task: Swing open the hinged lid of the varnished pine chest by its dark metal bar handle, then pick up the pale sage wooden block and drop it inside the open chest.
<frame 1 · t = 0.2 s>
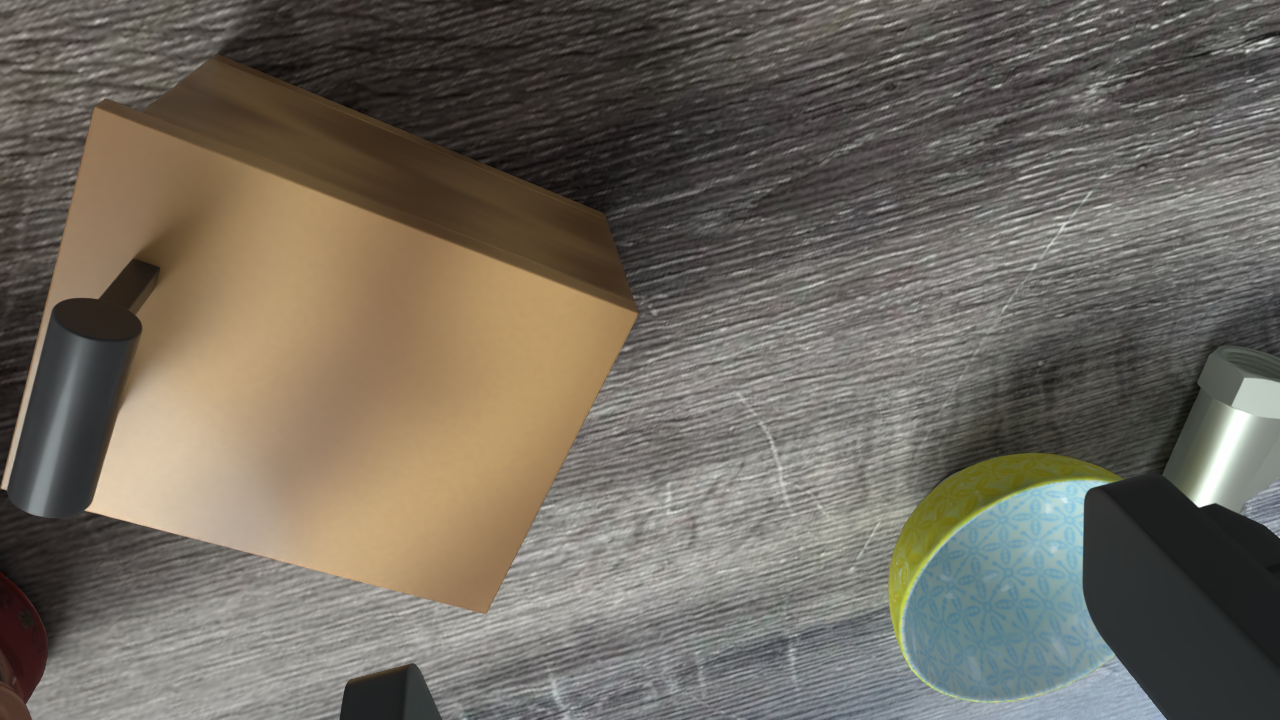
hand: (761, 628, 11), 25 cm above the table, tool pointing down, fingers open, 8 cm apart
pipe fitting: (1222, 422, 44), on the table
bowl: (967, 504, 44), on the table
chest: (366, 285, 35), on the table
lid: (311, 436, 26), point 11 cm above the table, hinge at 0.0°
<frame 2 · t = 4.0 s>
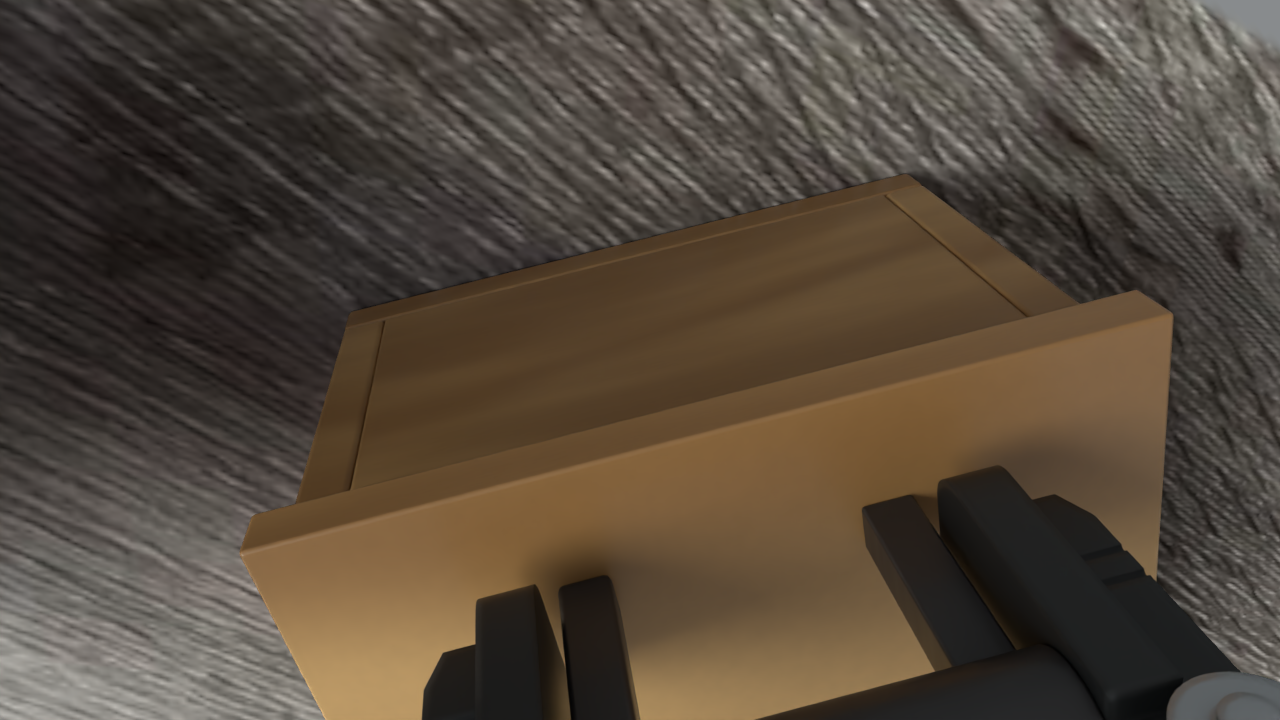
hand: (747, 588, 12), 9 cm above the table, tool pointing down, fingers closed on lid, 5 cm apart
chest: (690, 506, 23), on the table
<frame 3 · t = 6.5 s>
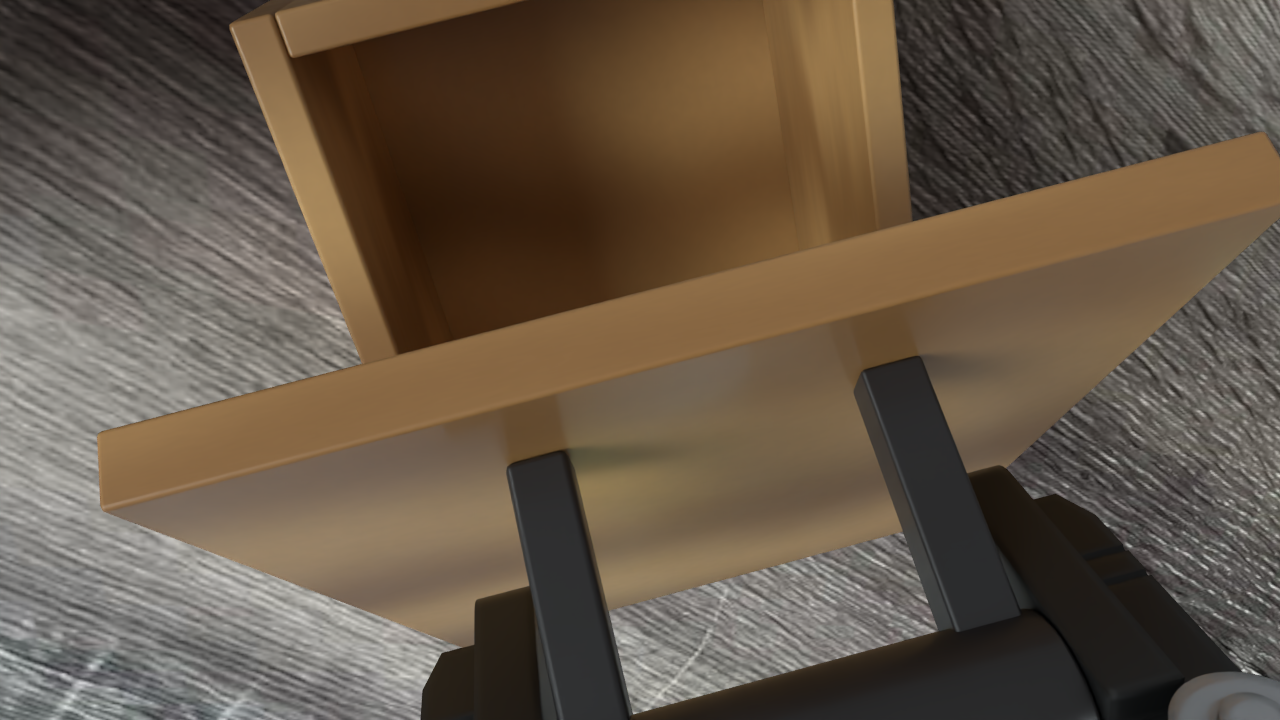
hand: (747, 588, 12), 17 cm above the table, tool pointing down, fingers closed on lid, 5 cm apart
chest: (600, 188, 27), on the table
lid: (745, 634, 15), point 15 cm above the table, hinge at 41.1°, touching gripper
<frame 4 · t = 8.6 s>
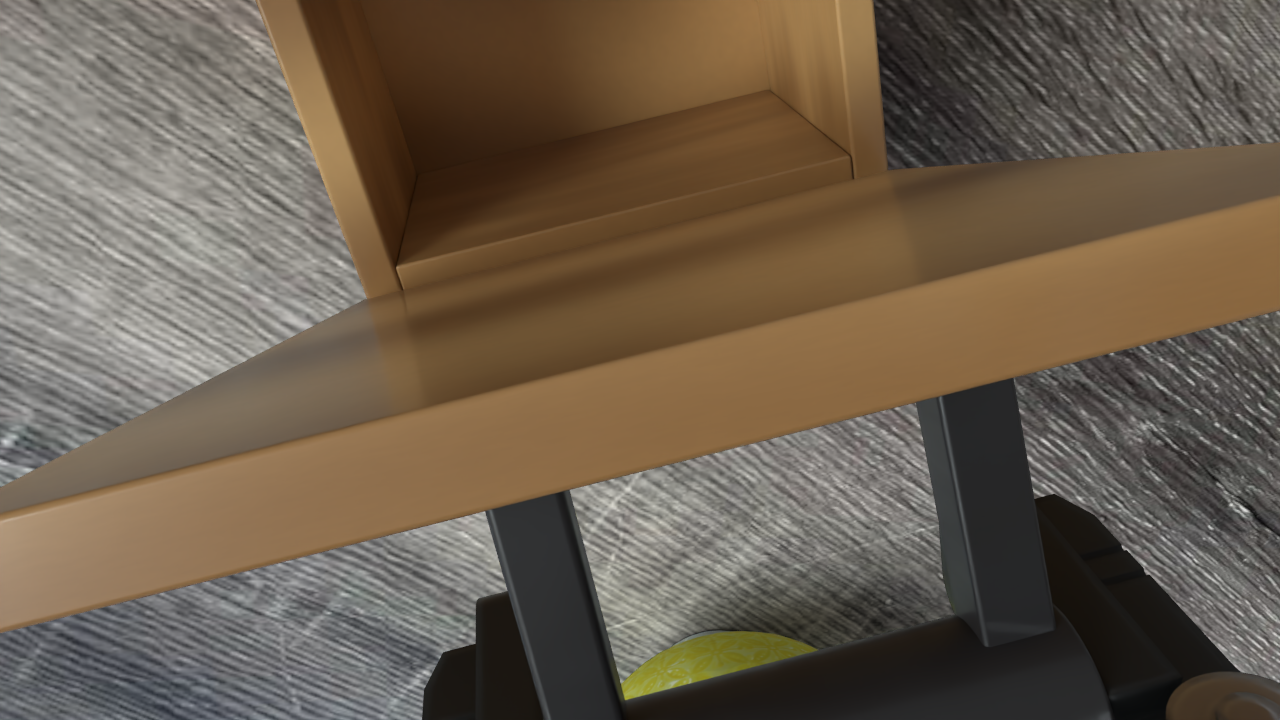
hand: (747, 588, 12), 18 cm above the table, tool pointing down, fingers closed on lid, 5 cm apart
bowl: (709, 670, 38), on the table
lid: (703, 438, 14), point 16 cm above the table, hinge at 72.5°, touching gripper
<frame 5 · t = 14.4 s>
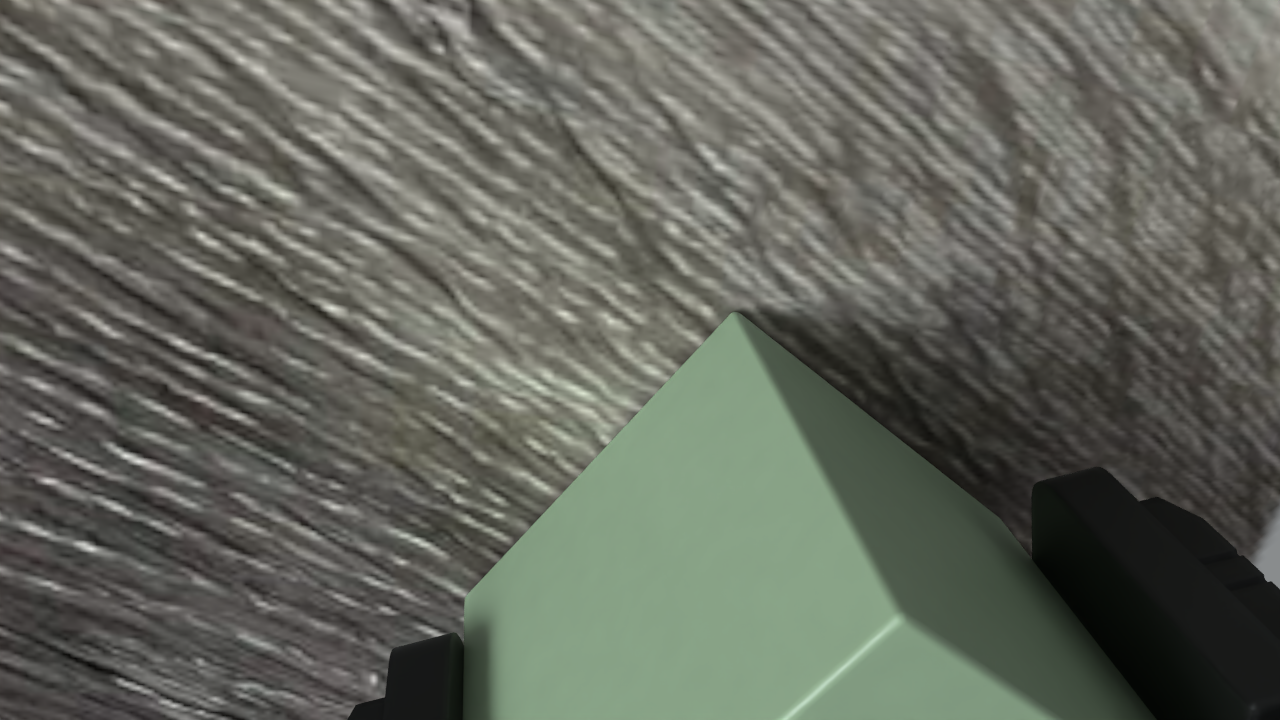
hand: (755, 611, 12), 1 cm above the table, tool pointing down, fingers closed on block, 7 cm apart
block: (738, 556, 13), on the table, touching gripper
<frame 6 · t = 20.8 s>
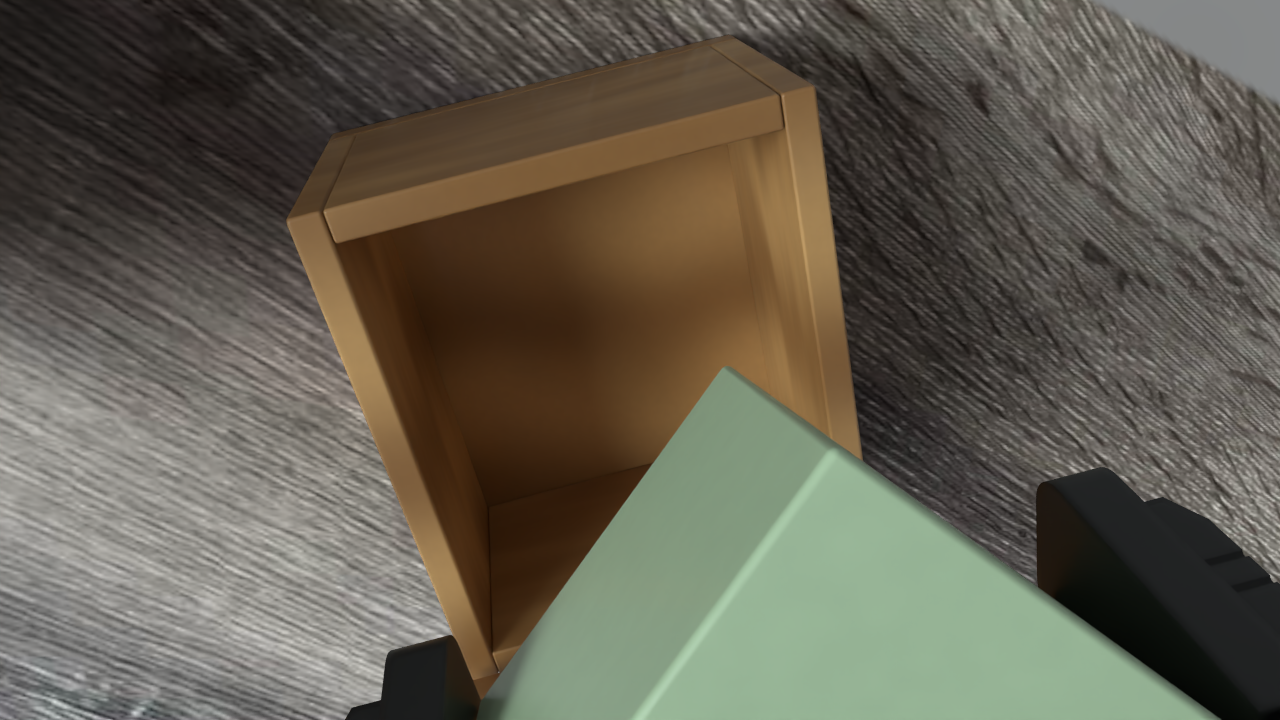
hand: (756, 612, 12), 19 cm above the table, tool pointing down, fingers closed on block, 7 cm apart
block: (769, 650, 12), point 20 cm above the table, tilted 21°, touching gripper, lid
chest: (588, 298, 31), on the table
when the fingers open (8 cm above the table, at t = 24.1 s): block drops 9 cm, resting on chest.
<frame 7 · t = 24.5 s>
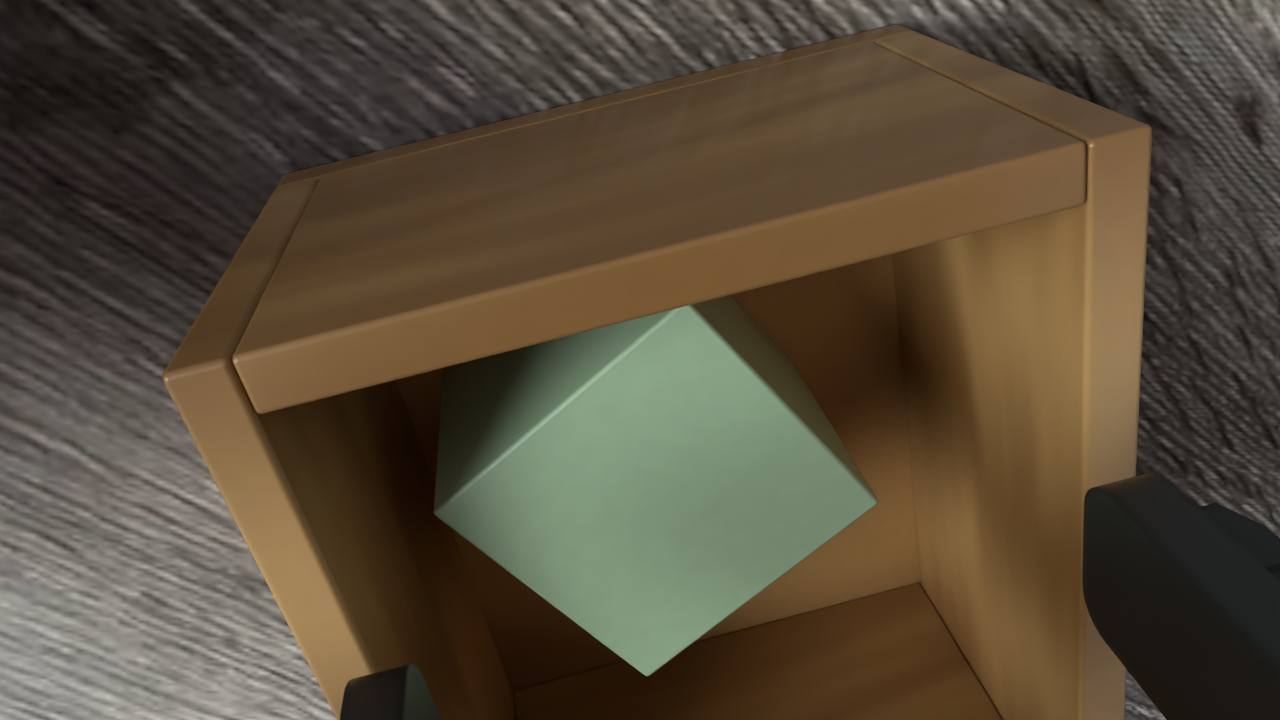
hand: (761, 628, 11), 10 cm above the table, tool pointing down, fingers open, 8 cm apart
block: (622, 361, 19), point 1 cm above the table, touching chest
chest: (664, 407, 21), on the table
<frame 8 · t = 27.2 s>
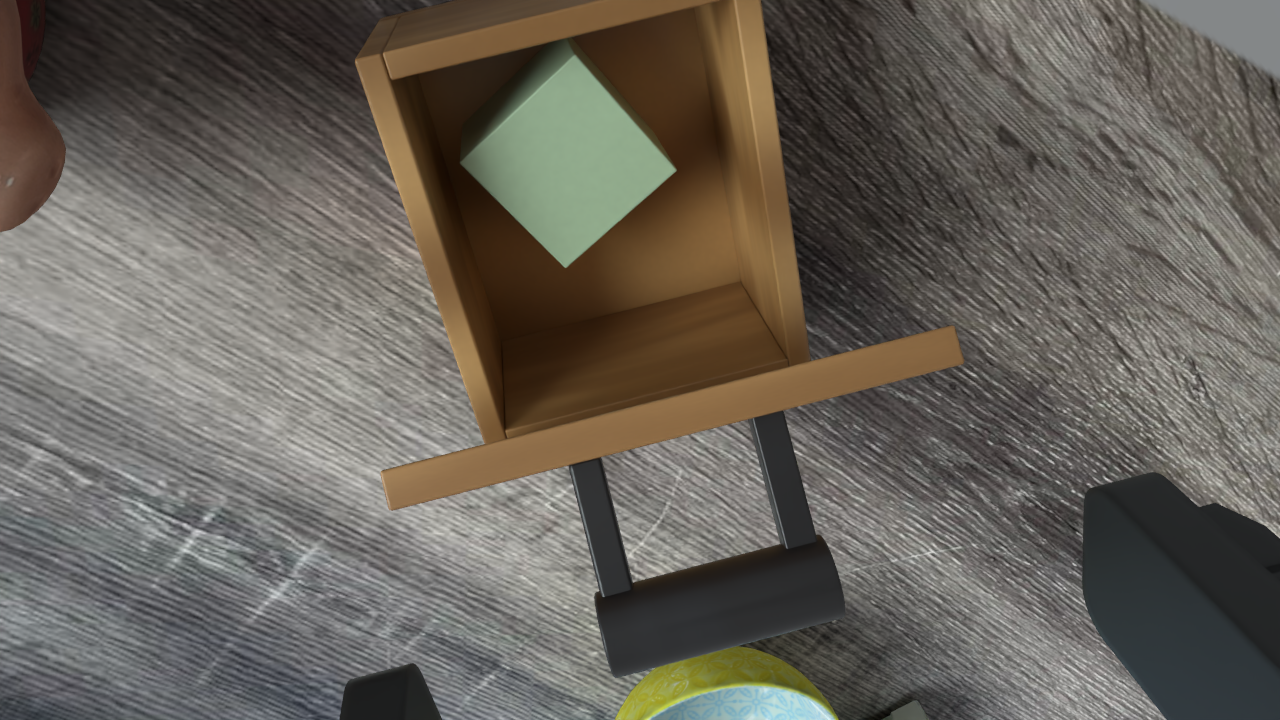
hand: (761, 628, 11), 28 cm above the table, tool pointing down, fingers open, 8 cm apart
block: (559, 128, 36), point 1 cm above the table, touching chest
bowl: (700, 673, 51), on the table
chest: (585, 164, 37), on the table
lid: (682, 503, 26), point 16 cm above the table, hinge at 58.0°
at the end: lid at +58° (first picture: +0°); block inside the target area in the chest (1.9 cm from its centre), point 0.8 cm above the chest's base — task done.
